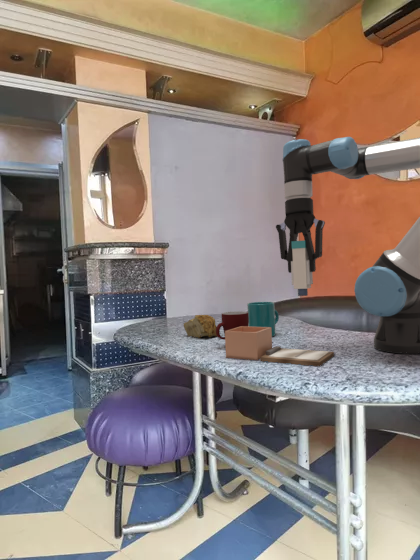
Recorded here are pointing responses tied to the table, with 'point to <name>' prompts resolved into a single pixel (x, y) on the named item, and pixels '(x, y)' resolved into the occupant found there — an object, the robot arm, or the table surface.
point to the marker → (300, 267)
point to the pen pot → (248, 342)
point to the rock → (201, 326)
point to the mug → (232, 321)
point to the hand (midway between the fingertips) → (302, 284)
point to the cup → (262, 315)
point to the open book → (296, 356)
